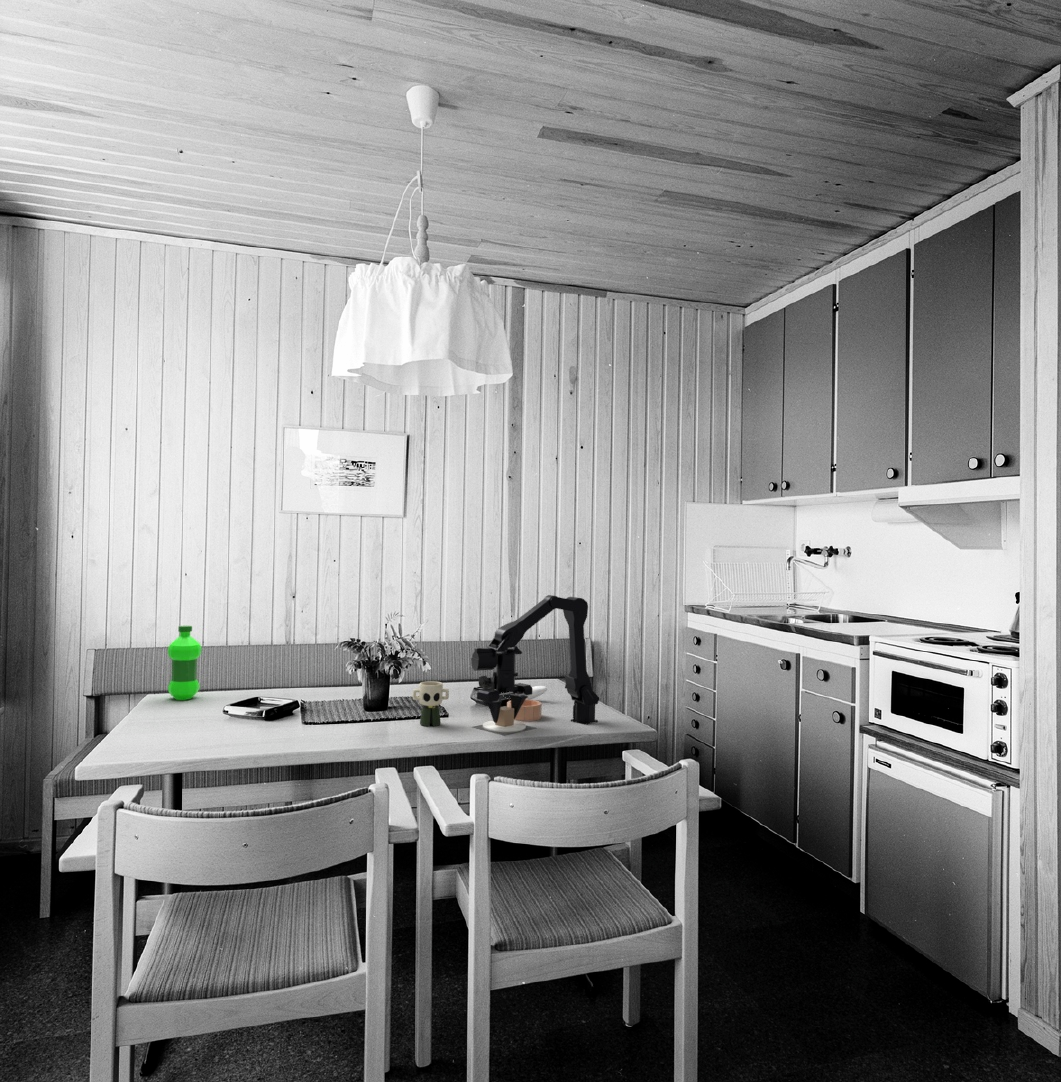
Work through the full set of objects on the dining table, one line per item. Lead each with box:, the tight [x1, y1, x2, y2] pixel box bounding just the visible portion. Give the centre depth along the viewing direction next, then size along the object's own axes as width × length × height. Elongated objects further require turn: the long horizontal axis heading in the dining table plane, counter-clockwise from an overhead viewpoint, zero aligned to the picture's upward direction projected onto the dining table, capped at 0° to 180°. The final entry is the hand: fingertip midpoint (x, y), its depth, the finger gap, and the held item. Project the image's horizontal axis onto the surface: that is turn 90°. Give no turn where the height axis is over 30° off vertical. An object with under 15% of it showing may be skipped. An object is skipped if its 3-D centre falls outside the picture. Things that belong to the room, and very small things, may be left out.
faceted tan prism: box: [506, 699, 543, 722], centre depth 250 cm, size 11×11×5 cm
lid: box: [482, 706, 526, 733], centre depth 235 cm, size 13×13×6 cm
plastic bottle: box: [167, 625, 202, 701], centre depth 268 cm, size 10×10×25 cm
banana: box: [526, 685, 548, 700], centre depth 277 cm, size 5×19×15 cm, turn 96°
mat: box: [472, 724, 537, 736], centre depth 235 cm, size 14×14×1 cm
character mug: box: [412, 680, 450, 727], centre depth 237 cm, size 11×7×13 cm, turn 103°
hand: (504, 720), depth 235 cm, fingers open, 7 cm apart
